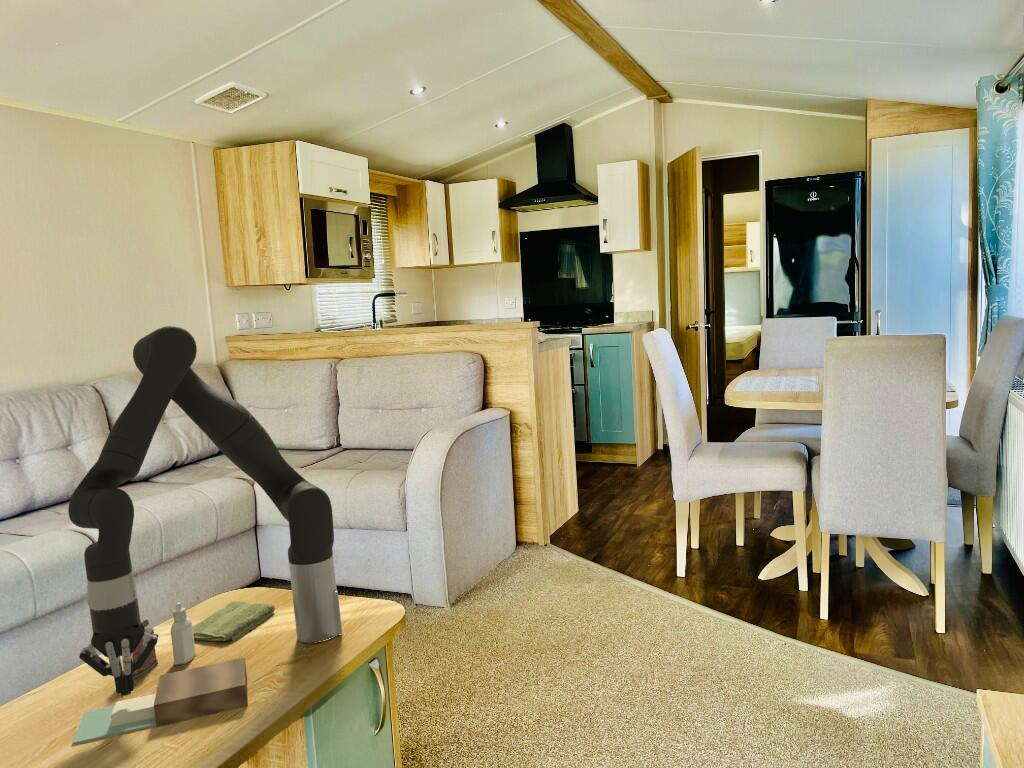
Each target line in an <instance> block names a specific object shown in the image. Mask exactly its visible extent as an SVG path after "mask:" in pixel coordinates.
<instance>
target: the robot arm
mask: <svg viewBox="0 0 1024 768" xmlns="http://www.w3.org/2000/svg"><path fill="white" fill-rule="evenodd" d="M197 348H198V347H197V343H196V340H195V338H194V337H193V335H192V334H191V333H190V331H188V330H187V329H185V328H184V327H181V326H177V325H167V326H162V327H160V328H157V329H155V330H153V331H152V332H150V333H149V334H147V335H145V336H144V337H142V338H140V339H139V340H138V341H137V342H136V343H135V345H134V346H133V349H132V359H133V362H134V364H135V367H136V369H138V371H139V372H140V373H141V374H142V377H141V379H140V382H139V383H138V386H137V388H136V390H135V392H134V393H133V394H132V397H131V398H130V400H129V401H128V402H127V404H126V405H125V407H124V408H123V410H122V411H121V413H120V414H119V415H118V417H117V419H116V420H115V422H114V424H113V425H112V428H111V429H110V431H109V434H108V435H107V438H106V440H105V443H104V445H103V447H102V449H101V451H100V453H99V456H98V459H97V461H96V462H95V463H94V464H93V466H92V467H91V468H90V469H89V470H88V471H87V473H86V474H85V475H84V477H83V478H82V479H81V481H80V482H79V484H78V485H77V486H76V487H75V489H74V491H73V493H72V494H71V496H70V500H69V502H68V508H67V509H68V517H69V520H70V521H71V523H72V524H73V525H74V526H76V527H79V528H82V529H92V530H94V529H95V530H96V529H97V531H98V537H97V541H95V542H93V543H92V542H91V544H89V545H88V546H86V548H85V550H84V554H83V555H84V566H85V572H86V573H85V574H86V581H87V586H86V587H87V591H86V592H87V604H88V607H89V615H90V622H91V629H92V637H91V639H90V643H89V644H88V645H87V646H86V647H84V648H82V649H81V650H80V653H79V656H78V658H79V659H80V660H81V661H82V662H84V663H85V664H86V665H88V666H89V667H90V668H92V670H94V671H96V672H97V673H98V674H99V675H101V676H102V677H107V676H112V677H113V678H114V685H115V693H117V694H118V695H119V694H120V697H124V696H129V695H131V693H132V691H134V688H135V685H136V684H135V683H136V681H134V674H133V671H135V670H136V669H140V668H141V667H142V665H143V664H144V662H145V661H146V659H147V658H148V656H149V654H150V653H151V651H152V650H153V648H154V647H155V648H156V646H157V644H158V640H159V634H158V633H154V634H153V635H152V634H150V633H147V632H145V629H146V627H145V628H144V626H143V625H142V624H141V621H142V620H141V615H140V607H139V601H138V598H139V597H138V591H137V583H136V579H135V577H134V572H133V566H132V558H131V552H130V545H131V540H132V533H133V526H134V520H135V519H134V517H135V508H134V504H133V503H134V502H133V501H132V500H133V499H132V498H131V497H130V495H129V493H127V491H125V490H123V489H121V488H119V486H121V484H124V482H128V481H131V480H133V479H135V478H136V477H137V476H138V474H139V473H140V471H141V468H142V465H143V463H144V461H145V459H146V455H148V451H149V448H150V446H151V444H152V441H153V438H154V436H155V433H156V431H157V430H158V426H159V424H160V422H161V420H162V418H163V416H164V413H165V412H166V409H167V407H168V406H169V404H170V401H171V400H172V401H173V402H174V403H175V404H176V405H177V407H179V408H180V409H181V410H182V411H183V412H184V413H185V414H186V415H187V416H188V418H190V420H192V422H193V423H194V424H195V425H196V426H197V427H198V428H199V429H200V430H201V431H202V432H203V433H204V434H205V435H206V437H208V439H209V440H210V441H211V442H212V443H213V444H214V445H215V446H216V448H218V449H219V451H220V452H221V453H222V454H223V455H224V456H225V457H226V458H227V459H229V460H230V461H231V462H232V463H233V464H234V465H235V466H236V467H237V468H238V469H239V470H241V471H242V472H243V473H245V474H246V475H247V476H248V477H250V478H251V479H252V480H253V481H255V483H257V484H258V486H259V487H260V488H261V489H262V490H263V492H264V493H265V494H266V495H267V497H268V498H269V499H270V500H271V502H272V503H273V504H274V506H275V507H276V508H277V510H278V512H279V513H280V514H281V515H282V517H283V518H284V519H285V520H286V521H287V522H288V526H289V529H288V530H289V537H290V545H289V546H288V549H287V557H288V567H289V568H288V569H289V575H290V577H289V578H290V586H291V594H292V603H293V612H294V623H295V632H296V638H297V639H296V640H297V641H299V642H300V643H302V642H305V643H304V644H313V643H312V642H319V641H323V640H326V639H329V638H332V637H334V636H336V635H339V634H342V635H343V626H342V620H341V619H342V618H341V610H340V609H341V608H340V600H339V593H338V592H339V591H338V589H337V582H336V580H337V579H336V573H335V572H336V571H335V563H334V554H333V553H334V551H333V547H334V544H335V543H334V542H335V531H334V530H335V529H334V516H333V508H332V507H333V506H332V502H331V498H330V496H329V495H328V494H327V492H326V491H325V490H323V489H322V488H320V487H319V486H316V485H314V484H312V483H311V482H310V481H308V480H306V479H305V478H304V477H303V476H302V475H301V474H300V473H299V472H297V471H296V470H295V468H293V467H292V466H291V465H290V463H288V462H287V461H286V460H285V458H284V457H283V456H282V455H281V452H280V451H279V449H278V447H277V445H276V444H275V441H273V439H272V438H271V436H270V434H269V433H268V432H267V430H266V429H265V428H264V426H263V425H262V424H261V423H260V422H259V421H258V420H257V419H256V417H255V416H254V415H253V414H252V413H251V412H250V410H248V408H246V407H245V406H243V405H242V404H241V403H240V402H238V401H236V400H235V399H233V398H231V397H230V396H228V395H226V394H224V393H223V392H222V391H221V392H220V391H219V390H218V389H215V388H214V387H212V386H211V385H209V384H208V383H207V382H205V381H204V380H203V379H202V378H201V377H200V376H199V375H198V374H197V373H196V371H194V370H193V369H194V368H193V369H192V367H191V366H192V365H193V363H194V361H195V360H196V357H197V353H198V352H197V351H198V350H197ZM339 636H340V635H339ZM336 637H337V636H336ZM142 638H143V640H144V641H143V646H144V648H143V650H142V651H141V653H140V654H139V656H138V657H137V659H136V660H134V661H133V659H132V656H133V652H134V651H135V649H136V647H137V646H138V644H139V642H140V641H141V639H142ZM334 638H335V637H334ZM98 652H99V653H101V654H102V656H104V657H106V658H108V661H109V662H107V661H106V660H105V659H103V658H102V657H101V656H99V655H98V654H97V653H98ZM121 658H122V659H121Z"/></svg>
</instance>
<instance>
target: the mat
mask: <svg viewBox="0 0 1024 768" xmlns="http://www.w3.org/2000/svg"><path fill="white" fill-rule="evenodd" d="M114 706H115V705H114V704H113V705H109V706H104V707H100V708H96V709H91V710H87V711H84V712H83V715H82V717H81V721H80V722H79V725H78V727H77V730H76V733H75V734H74V736H73V740H72V743H71V745H72V746H75V745H79V744H83V743H88V742H93V741H96V740H101V739H104V738H105V739H106V738H109V737H114V736H118V735H119V736H120V735H122V734H126V733H131V732H132V733H133V732H136V731H140V730H144V729H148V728H153V727H156V719H155V717H154V718H149V719H145V720H140V721H135V722H131V723H126V724H121V725H117V726H112V720H111V714H112V711H113V709H114Z"/></svg>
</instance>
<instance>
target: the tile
mask: <svg viewBox="0 0 1024 768" xmlns="http://www.w3.org/2000/svg"><path fill="white" fill-rule="evenodd" d="M155 697H156V693H153V694H148V695H143V696H140V697H139V696H138V697H133V698H129V699H124V700H120V701H115V706H114V709H113V711H112V714H111V720H112V726H117V725H121V724H126V723H131V722H135V721H140V720H145V719H149V718H154V717H155V711H154V701H155Z"/></svg>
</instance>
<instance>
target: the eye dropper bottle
mask: <svg viewBox="0 0 1024 768" xmlns="http://www.w3.org/2000/svg"><path fill="white" fill-rule="evenodd" d="M186 610H187V609H186V607H182V604H181V602H177V603H176V607H175V609H173V611H172V614H173V616H172V617H173V623H172V624H171V627H170V637H171V645H172V646H171V648H172V652H173V653H172V654H173V662H174V665H185V664H188V663H189V662H191V661H192V660H193V659H194V658H195V656H196V654H197V652H196V646H195V644H196V642H195V639H194V635H193V622H192V620H191V618H189V617H187V611H186Z"/></svg>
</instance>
